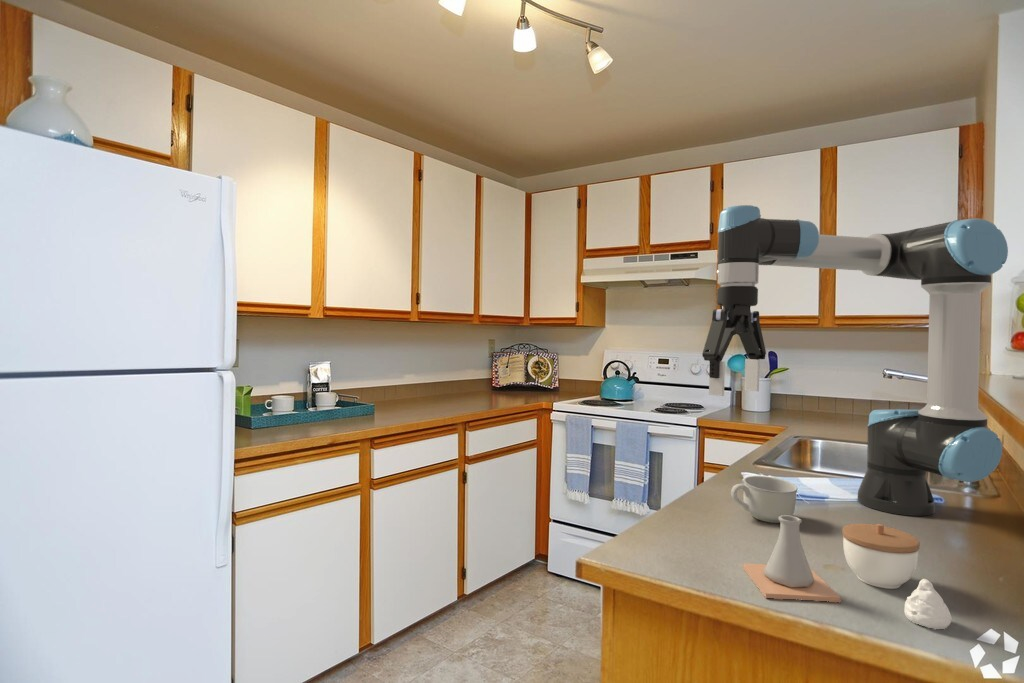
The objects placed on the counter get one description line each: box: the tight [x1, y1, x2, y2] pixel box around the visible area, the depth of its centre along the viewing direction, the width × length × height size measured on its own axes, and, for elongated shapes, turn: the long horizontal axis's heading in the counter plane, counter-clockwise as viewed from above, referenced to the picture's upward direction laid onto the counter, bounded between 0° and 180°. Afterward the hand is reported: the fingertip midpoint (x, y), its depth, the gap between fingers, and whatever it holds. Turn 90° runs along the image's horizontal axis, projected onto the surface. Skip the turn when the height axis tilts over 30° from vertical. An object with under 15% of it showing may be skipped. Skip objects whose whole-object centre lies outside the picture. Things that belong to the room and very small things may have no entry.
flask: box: [763, 515, 815, 587], centre depth 92 cm, size 7×7×10 cm
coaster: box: [742, 563, 841, 603], centre depth 92 cm, size 11×11×1 cm
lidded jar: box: [842, 523, 921, 590], centre depth 94 cm, size 11×11×9 cm
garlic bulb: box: [904, 578, 953, 630], centre depth 81 cm, size 6×6×5 cm
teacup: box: [730, 475, 798, 524], centre depth 124 cm, size 14×11×8 cm
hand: (734, 393), depth 112 cm, fingers open, 13 cm apart
